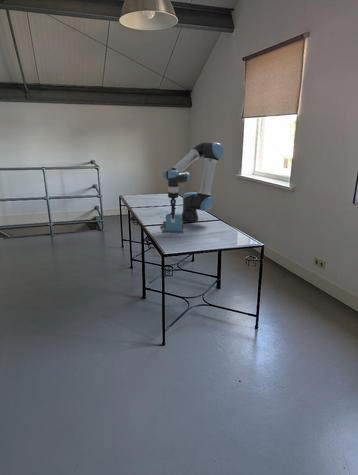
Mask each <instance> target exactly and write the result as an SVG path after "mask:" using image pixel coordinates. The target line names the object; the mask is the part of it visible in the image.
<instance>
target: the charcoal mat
mask: <svg viewBox="0 0 358 475" xmlns="http://www.w3.org/2000/svg"><path fill="white" fill-rule="evenodd" d="M161 233H162V234H184V227H183V228H182V230H181V231H167V230H166V228H162V229H161Z"/></svg>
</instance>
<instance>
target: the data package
mask: <svg viewBox="0 0 358 475" xmlns="http://www.w3.org/2000/svg"><path fill="white" fill-rule="evenodd" d="M165 221H166V230H167V231H181V230H182V222H183V221H182V213H181V214H180V213H175V223H171V214H170V213H167V214H165Z"/></svg>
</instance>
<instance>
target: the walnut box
mask: <svg viewBox="0 0 358 475" xmlns="http://www.w3.org/2000/svg"><path fill="white" fill-rule="evenodd" d="M161 227H162V228H166V220H162V226H161ZM182 228H183V229H184V221H182Z"/></svg>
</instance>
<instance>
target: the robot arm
mask: <svg viewBox="0 0 358 475" xmlns="http://www.w3.org/2000/svg"><path fill="white" fill-rule="evenodd" d="M223 156H224V148H223V146H222V144H221V143H218V142H206V141H205V142H200V143H198V144H196V145H195V146H193V147H192V148H191V149H190V150H189V153H187V154H186V155H185V156H184V157H183V158H182V159H180V160H179V161H177V163H176V164H175V165H174V166H172V167H171V168H170V169H165V170H164V171H163V172H162V178H163V179H164V180H165V181H167V184H168V185H167V188H166V189H167V197H168V198H169V199H170V200H169V201H170V209H171V210H170V213H169V214H171V223H175V214H176V209H177V208H176V205H177V204H176V202H177V201H176V200H177V199H178V198H179V190H180V189H179V185H180V183H181V184H182V183H188V182H189V181H190V180H191V177H192V176H191V173H190V172H189V171H185V170H186V169H188V167H189V166H190V165H192V164H193V163H194V162H195V161H197V160H199V159H200V158H203V160H204V161H205V162H204V168H203V173H202V178H201V183H200V188H199V191H198V192H194V191H193V192H185V193H183V195H182V212H181V215H182V222H187V223H188V222H189V223H190V222H191V223H193V222H197V221H199V215H198V212H197V211H202V212H208V211H210V210H211V208H213V206H214V199H213V197H212V194H211V191H212V186H213V180H214V176H215V170H216V166H217V163H218V162H219V161H220V160H219V159H222V157H223Z"/></svg>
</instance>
